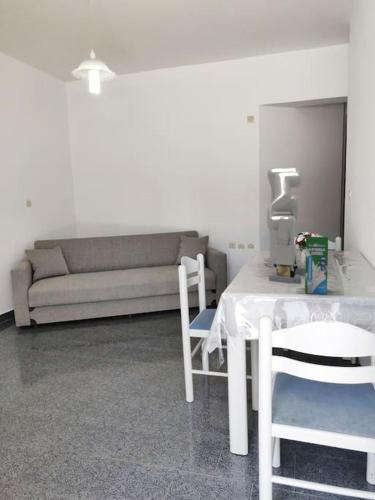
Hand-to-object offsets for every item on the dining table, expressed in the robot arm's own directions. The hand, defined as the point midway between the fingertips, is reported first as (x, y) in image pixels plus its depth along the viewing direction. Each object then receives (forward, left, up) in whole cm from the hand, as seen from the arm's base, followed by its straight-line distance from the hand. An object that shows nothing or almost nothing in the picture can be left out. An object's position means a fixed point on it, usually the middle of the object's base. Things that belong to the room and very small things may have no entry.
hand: (285, 277), depth 192 cm
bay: (+1, +3, -2) cm, 4 cm away
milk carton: (+19, -12, -2) cm, 22 cm away
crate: (0, 0, -1) cm, 1 cm away
